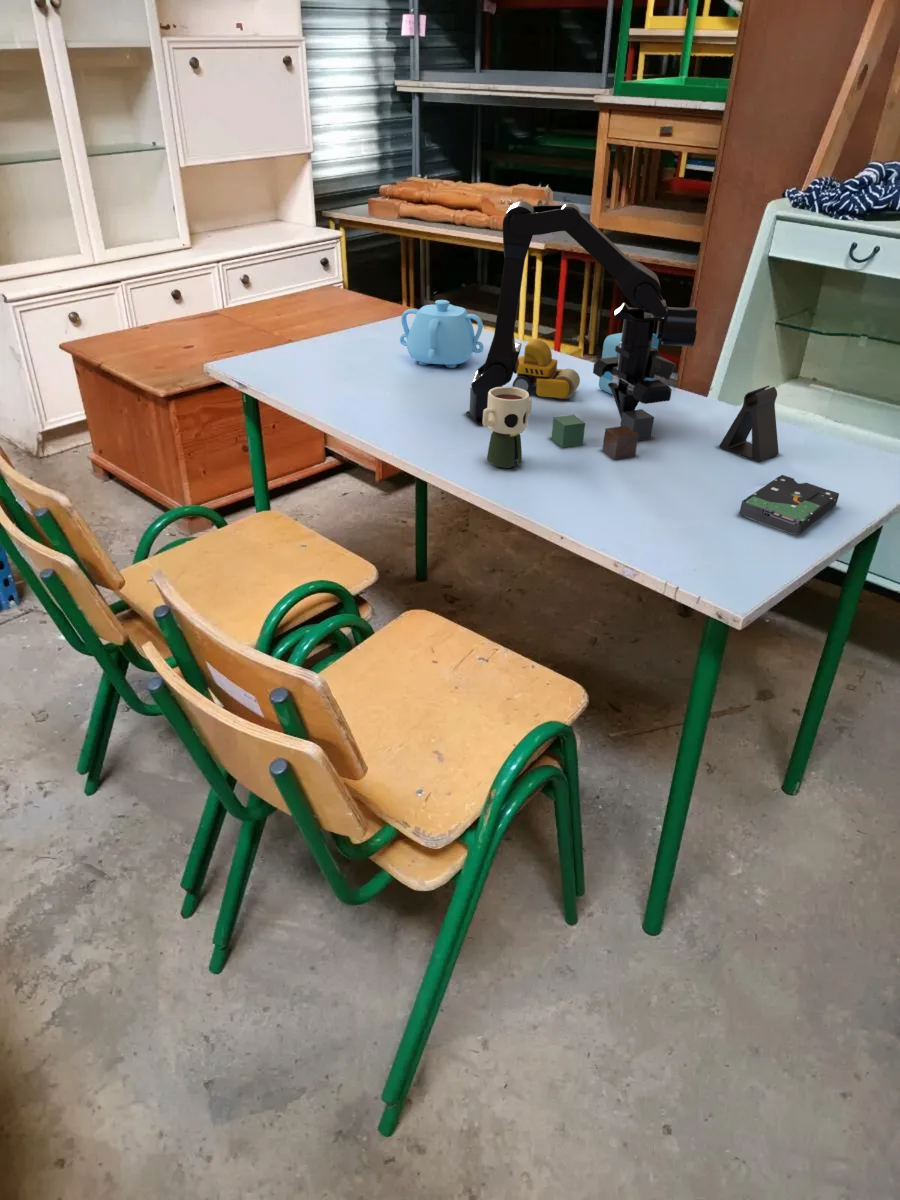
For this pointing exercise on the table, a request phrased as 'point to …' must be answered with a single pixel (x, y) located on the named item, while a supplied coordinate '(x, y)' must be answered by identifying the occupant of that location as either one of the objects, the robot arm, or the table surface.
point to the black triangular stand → (754, 427)
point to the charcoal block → (638, 423)
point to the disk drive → (789, 504)
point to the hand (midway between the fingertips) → (625, 422)
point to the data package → (610, 352)
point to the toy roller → (544, 373)
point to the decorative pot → (441, 334)
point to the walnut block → (620, 442)
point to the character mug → (506, 424)
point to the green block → (568, 431)
